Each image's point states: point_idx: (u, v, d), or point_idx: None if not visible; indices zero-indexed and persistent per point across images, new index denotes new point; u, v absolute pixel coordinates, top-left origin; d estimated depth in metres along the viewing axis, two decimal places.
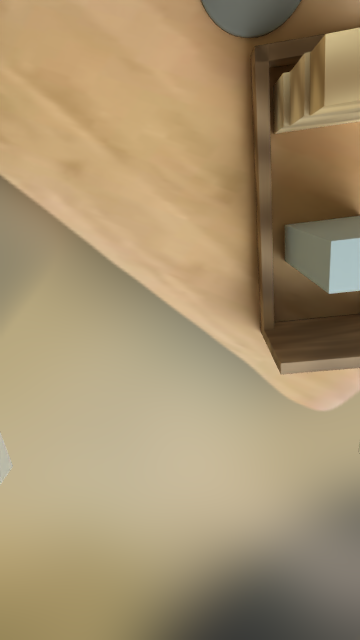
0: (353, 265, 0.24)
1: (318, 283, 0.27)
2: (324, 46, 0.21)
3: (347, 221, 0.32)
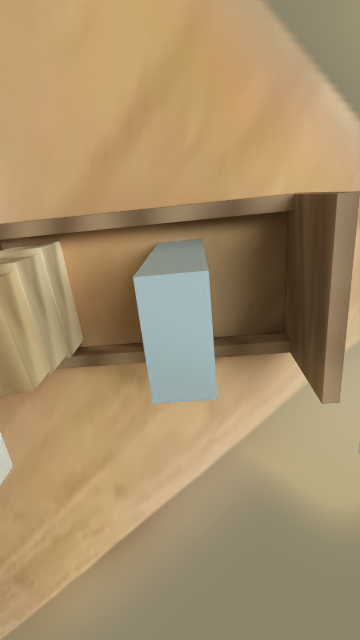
0: (182, 378, 0.19)
1: None
2: None
3: None
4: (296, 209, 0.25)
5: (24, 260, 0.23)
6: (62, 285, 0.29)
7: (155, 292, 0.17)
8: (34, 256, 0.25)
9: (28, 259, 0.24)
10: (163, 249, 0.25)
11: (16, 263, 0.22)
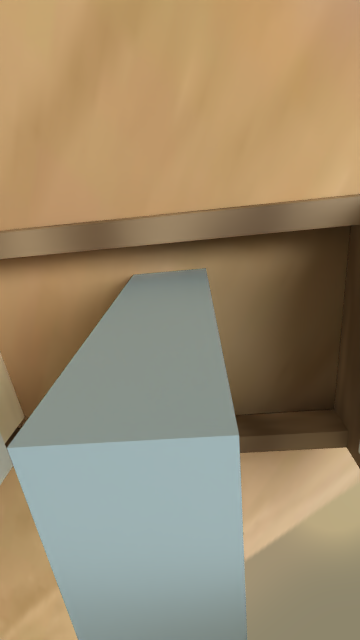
0: None
1: None
2: None
3: None
4: None
5: None
6: None
7: (78, 484, 0.06)
8: None
9: None
10: (136, 296, 0.14)
11: None
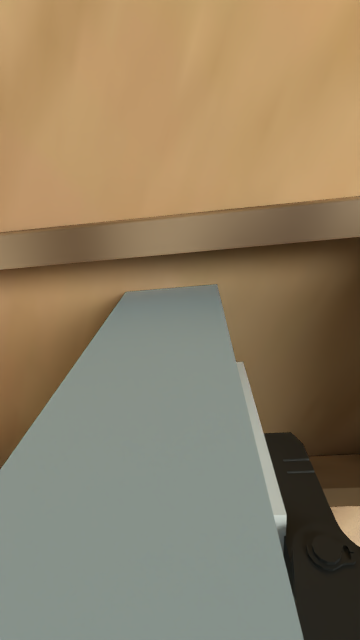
0: None
1: None
2: None
3: None
4: None
5: None
6: None
7: None
8: None
9: None
10: (125, 328, 0.10)
11: None
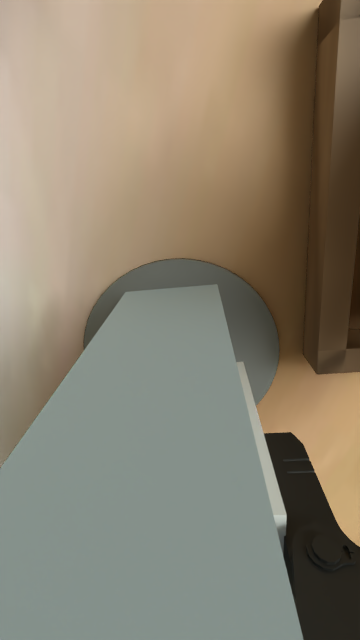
0: None
1: None
2: None
3: None
4: None
5: None
6: None
7: None
8: None
9: None
10: (125, 328, 0.10)
11: None
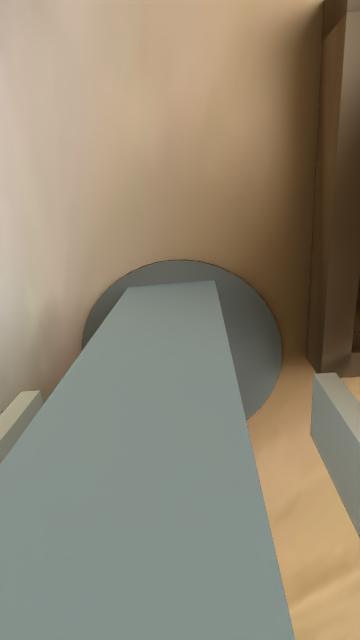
0: None
1: None
2: None
3: None
4: None
5: None
6: None
7: None
8: None
9: None
10: (128, 320, 0.11)
11: None
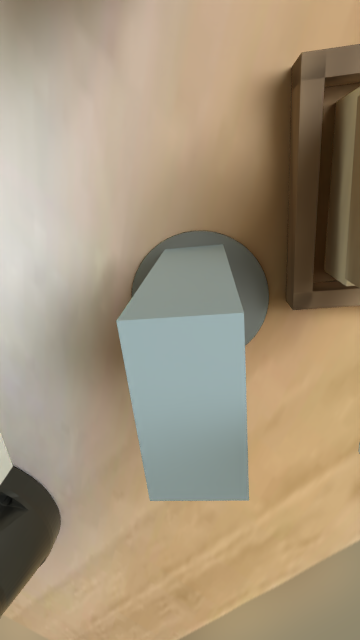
0: (195, 469, 0.12)
1: None
2: None
3: None
4: None
5: None
6: None
7: (153, 344, 0.10)
8: None
9: None
10: (171, 261, 0.18)
11: None
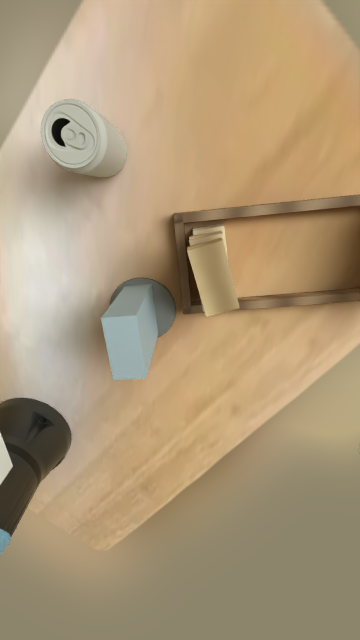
0: (127, 366, 0.37)
1: None
2: None
3: None
4: None
5: (222, 232, 0.38)
6: None
7: (111, 325, 0.36)
8: (221, 231, 0.39)
9: (221, 232, 0.39)
10: (124, 294, 0.43)
11: (222, 233, 0.37)
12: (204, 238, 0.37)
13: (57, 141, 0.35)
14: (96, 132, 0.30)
